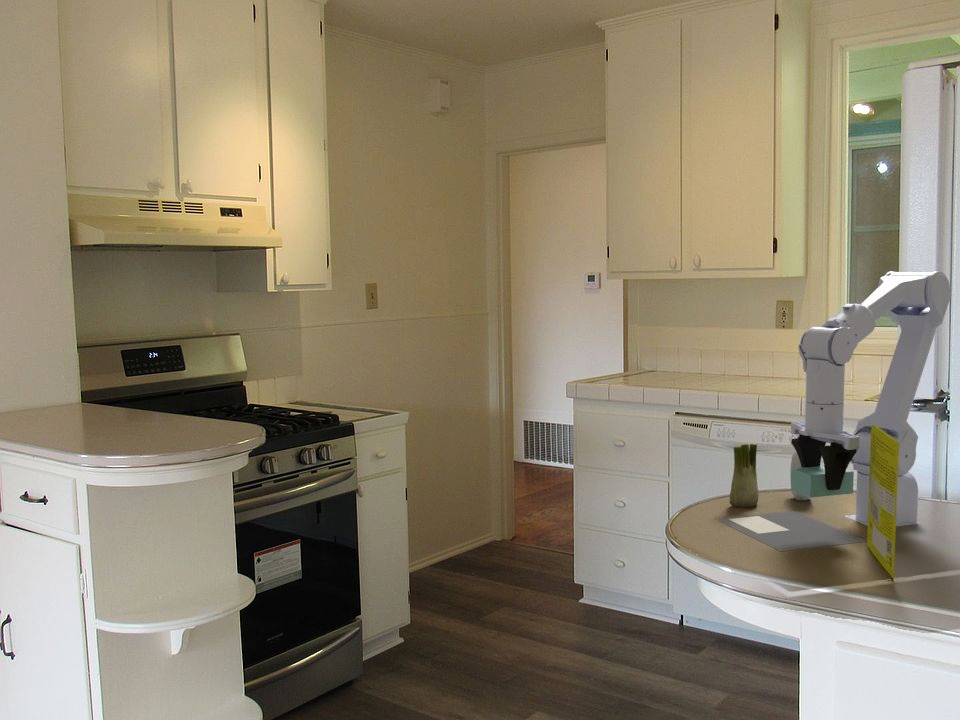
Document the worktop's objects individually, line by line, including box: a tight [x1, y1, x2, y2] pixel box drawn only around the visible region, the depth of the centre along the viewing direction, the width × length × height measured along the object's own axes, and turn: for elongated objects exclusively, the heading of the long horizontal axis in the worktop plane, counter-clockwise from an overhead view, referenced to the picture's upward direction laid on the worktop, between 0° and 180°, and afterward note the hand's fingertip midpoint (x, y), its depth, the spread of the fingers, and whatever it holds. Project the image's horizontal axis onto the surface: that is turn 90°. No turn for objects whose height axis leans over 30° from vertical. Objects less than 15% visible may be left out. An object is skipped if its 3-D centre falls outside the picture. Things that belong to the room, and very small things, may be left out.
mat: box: [715, 510, 867, 552], centre depth 152 cm, size 16×19×1 cm
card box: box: [790, 465, 855, 499], centre depth 148 cm, size 8×5×4 cm, turn 107°
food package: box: [866, 424, 899, 584], centre depth 135 cm, size 15×1×20 cm, turn 170°
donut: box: [789, 450, 811, 502], centre depth 172 cm, size 10×3×10 cm, turn 168°
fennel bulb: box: [729, 443, 759, 509], centre depth 167 cm, size 6×5×12 cm
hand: (822, 485), depth 148 cm, fingers closed on card box, 5 cm apart
